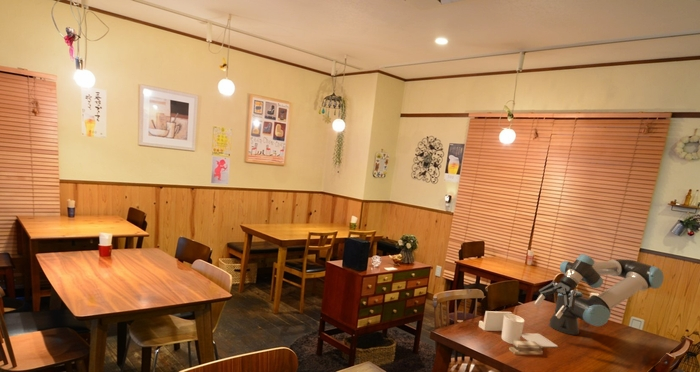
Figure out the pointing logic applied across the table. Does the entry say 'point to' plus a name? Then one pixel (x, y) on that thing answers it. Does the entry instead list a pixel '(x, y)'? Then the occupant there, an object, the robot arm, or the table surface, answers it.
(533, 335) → the felt pad
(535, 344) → the offcut stack
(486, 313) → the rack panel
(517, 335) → the candle holder
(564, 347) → the table surface
